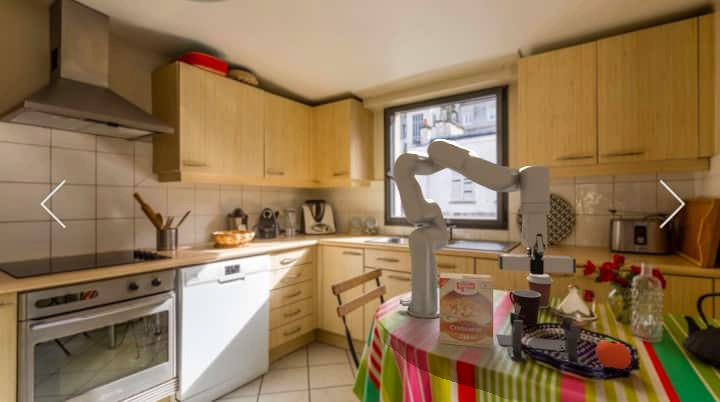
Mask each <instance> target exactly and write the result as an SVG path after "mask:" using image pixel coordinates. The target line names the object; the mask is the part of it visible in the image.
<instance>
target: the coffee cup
mask: <svg viewBox="0 0 720 402" xmlns="http://www.w3.org/2000/svg"><path fill="white" fill-rule="evenodd" d="M526 281H527V282H528V289H529V290H530V291H534V292H537V293H540V294H541V298H540V305H539V309H548V308H549V307H550V300H551V299H550V298H551V289H552V284H554V280H553V279H552V278H551V277H550V275H549V274H546V273H544V274H543V275H537V274H531V273H529V276H527V277H526Z"/></svg>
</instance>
